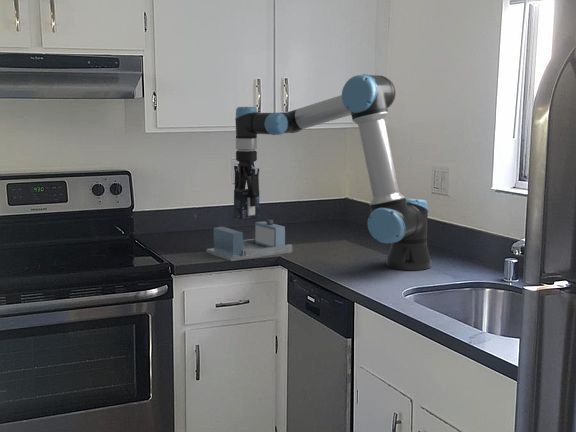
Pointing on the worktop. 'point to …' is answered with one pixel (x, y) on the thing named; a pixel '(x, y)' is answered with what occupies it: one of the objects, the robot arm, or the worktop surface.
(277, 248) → the vise base
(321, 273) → the worktop surface
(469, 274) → the worktop surface
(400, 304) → the worktop surface
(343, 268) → the worktop surface
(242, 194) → the box
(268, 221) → the block
